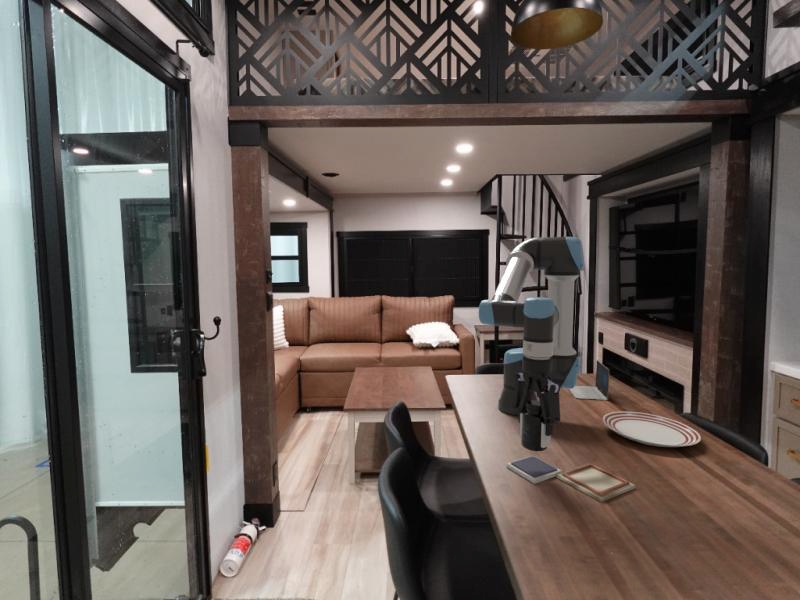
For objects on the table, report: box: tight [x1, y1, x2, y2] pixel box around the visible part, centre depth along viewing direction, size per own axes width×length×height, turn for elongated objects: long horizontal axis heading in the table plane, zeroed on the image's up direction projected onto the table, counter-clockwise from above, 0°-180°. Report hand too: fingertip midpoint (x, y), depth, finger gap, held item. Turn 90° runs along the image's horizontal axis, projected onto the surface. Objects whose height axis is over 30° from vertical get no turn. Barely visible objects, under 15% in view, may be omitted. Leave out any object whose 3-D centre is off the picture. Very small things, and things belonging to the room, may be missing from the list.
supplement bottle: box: [520, 400, 548, 452], centre depth 112 cm, size 7×7×12 cm
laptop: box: [569, 359, 610, 401], centre depth 180 cm, size 18×12×13 cm
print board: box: [556, 462, 636, 503], centre depth 107 cm, size 13×13×1 cm
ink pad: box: [506, 455, 563, 485], centre depth 113 cm, size 10×10×1 cm
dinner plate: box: [602, 411, 702, 448], centre depth 137 cm, size 28×27×3 cm
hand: (534, 440), depth 113 cm, fingers closed on supplement bottle, 7 cm apart
